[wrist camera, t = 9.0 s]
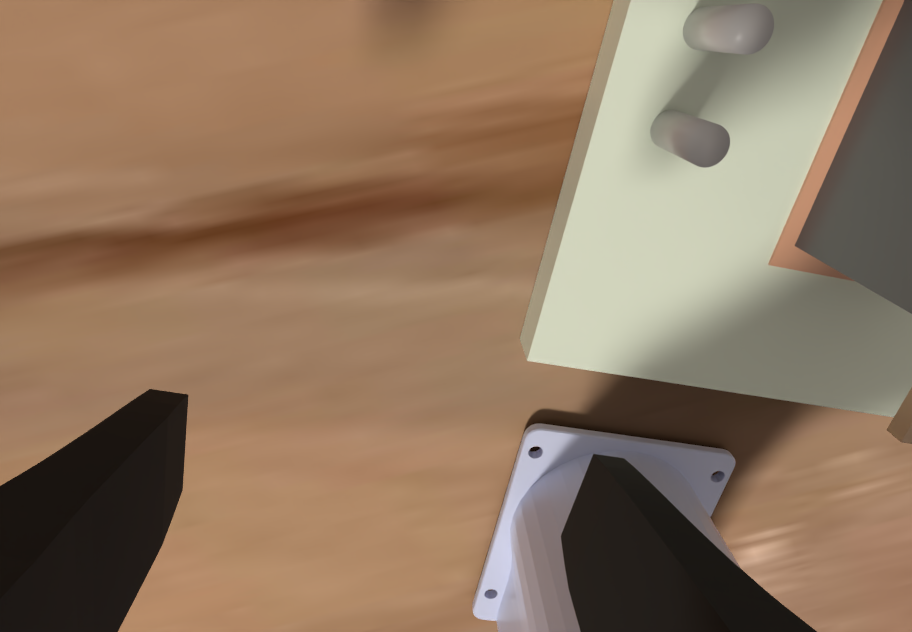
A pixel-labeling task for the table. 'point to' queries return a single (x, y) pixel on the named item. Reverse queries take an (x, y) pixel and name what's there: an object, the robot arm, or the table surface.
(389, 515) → the table surface
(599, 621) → the robot arm
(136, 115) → the table surface
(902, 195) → the block
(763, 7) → the board
